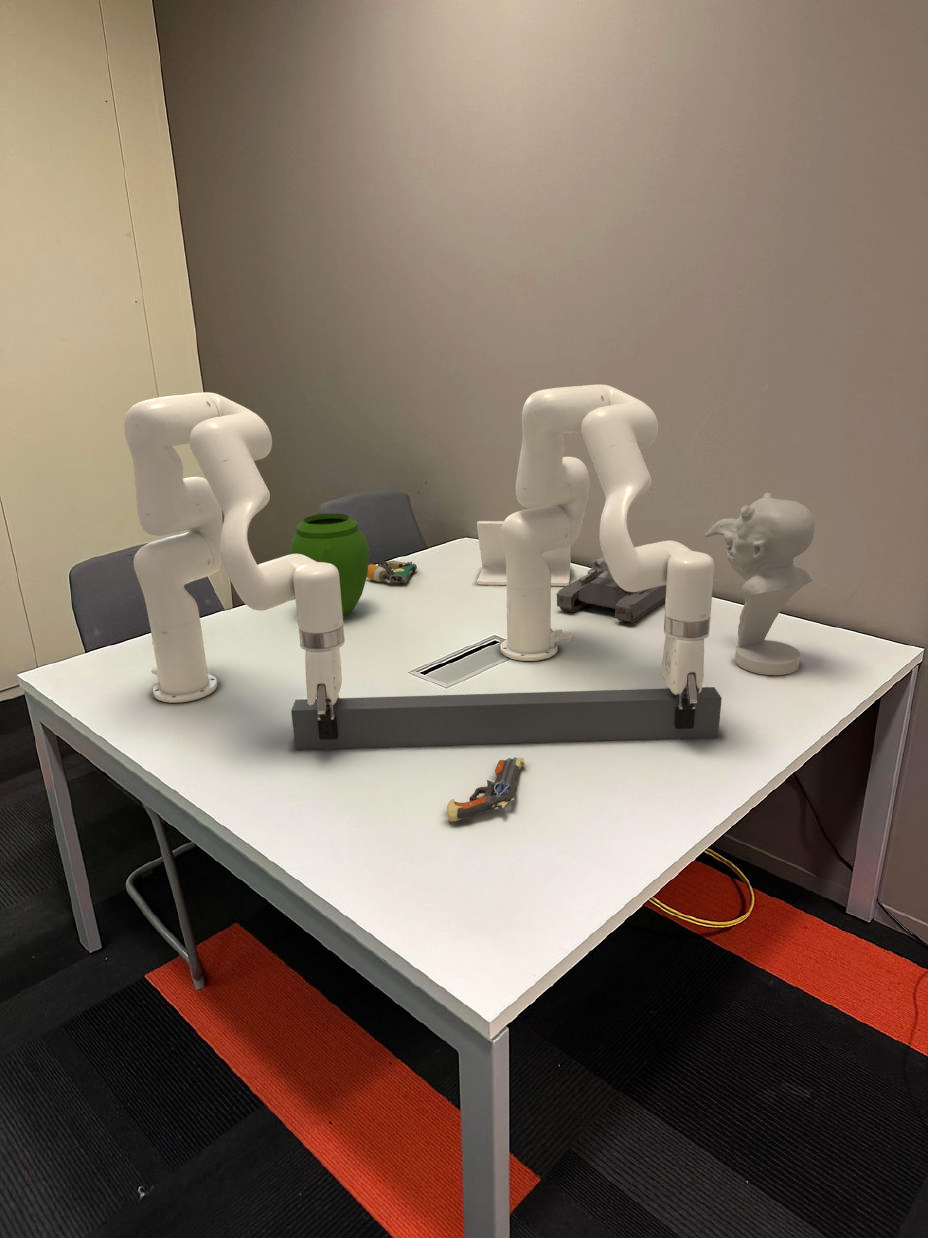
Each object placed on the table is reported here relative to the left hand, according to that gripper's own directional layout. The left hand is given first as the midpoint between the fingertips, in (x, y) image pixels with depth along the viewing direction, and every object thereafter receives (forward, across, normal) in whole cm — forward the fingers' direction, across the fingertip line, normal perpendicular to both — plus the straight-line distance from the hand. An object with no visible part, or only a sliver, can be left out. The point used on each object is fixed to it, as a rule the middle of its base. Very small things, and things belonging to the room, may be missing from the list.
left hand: (330, 730), depth 151 cm
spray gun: (+2, -96, +5) cm, 96 cm away
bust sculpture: (+3, -31, +84) cm, 90 cm away
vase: (+2, -66, -8) cm, 67 cm away
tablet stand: (+2, -93, +42) cm, 102 cm away
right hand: (0, 0, +62) cm, 62 cm away
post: (+2, 0, +31) cm, 31 cm away
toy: (+2, -67, +62) cm, 92 cm away
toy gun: (+3, +18, +27) cm, 33 cm away
